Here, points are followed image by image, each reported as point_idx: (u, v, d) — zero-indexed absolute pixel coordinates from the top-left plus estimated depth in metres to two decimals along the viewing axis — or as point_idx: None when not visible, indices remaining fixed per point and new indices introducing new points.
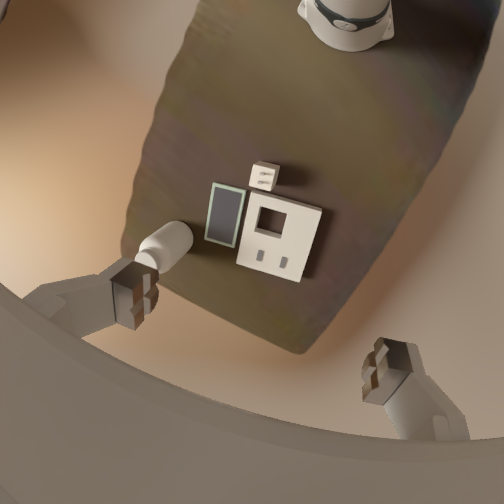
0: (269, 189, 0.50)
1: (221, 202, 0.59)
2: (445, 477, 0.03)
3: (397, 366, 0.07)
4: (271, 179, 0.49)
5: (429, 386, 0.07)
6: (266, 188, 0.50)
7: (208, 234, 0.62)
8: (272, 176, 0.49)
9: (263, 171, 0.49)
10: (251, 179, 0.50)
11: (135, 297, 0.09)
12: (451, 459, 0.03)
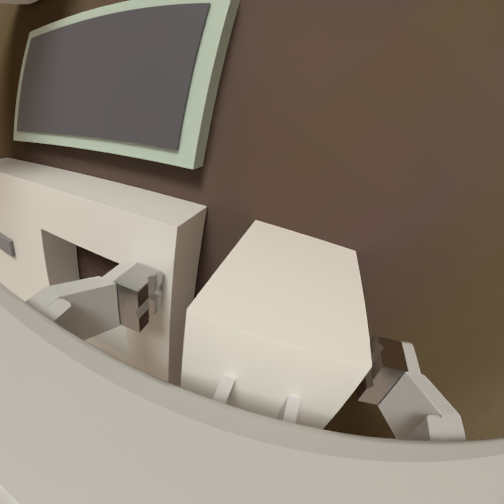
0: None
1: (129, 50, 0.08)
2: (445, 477, 0.03)
3: (392, 365, 0.07)
4: None
5: (425, 385, 0.07)
6: None
7: (36, 40, 0.09)
8: None
9: (303, 409, 0.06)
10: (241, 337, 0.06)
11: (140, 299, 0.09)
12: (451, 459, 0.03)
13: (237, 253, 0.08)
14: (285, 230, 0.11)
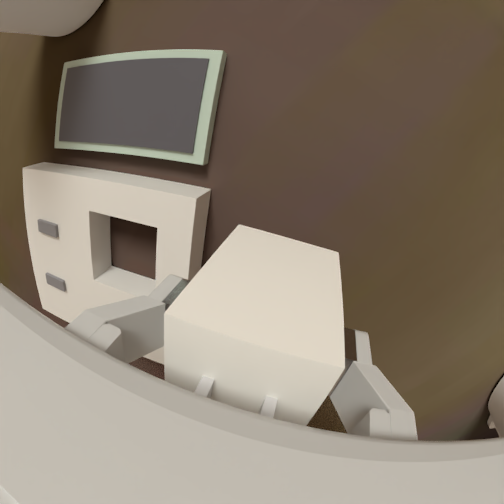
0: None
1: (156, 88, 0.14)
2: (445, 477, 0.03)
3: None
4: None
5: (374, 376, 0.07)
6: None
7: (73, 70, 0.14)
8: None
9: (281, 409, 0.06)
10: (215, 340, 0.06)
11: None
12: (451, 459, 0.03)
13: (217, 258, 0.09)
14: (268, 234, 0.11)
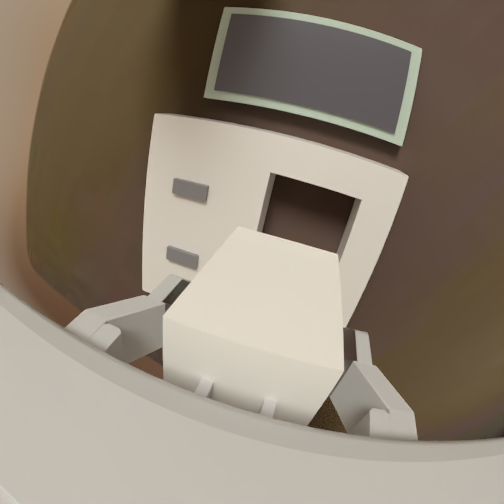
0: None
1: (360, 62, 0.13)
2: (445, 477, 0.03)
3: None
4: None
5: (374, 376, 0.07)
6: None
7: (242, 17, 0.14)
8: None
9: (280, 412, 0.06)
10: (214, 342, 0.06)
11: None
12: (451, 459, 0.03)
13: (216, 260, 0.08)
14: (267, 236, 0.11)
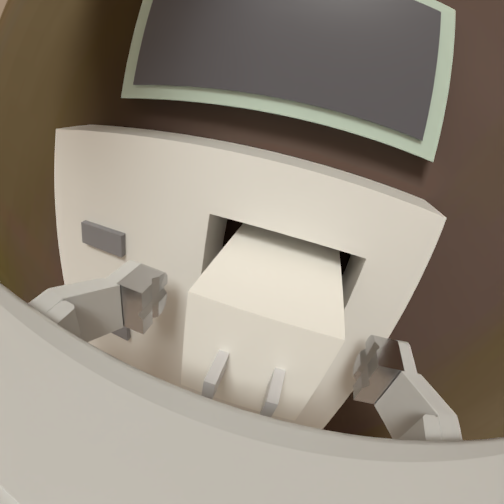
0: (188, 383, 0.09)
1: (362, 22, 0.07)
2: (445, 477, 0.03)
3: (388, 364, 0.07)
4: (242, 401, 0.08)
5: (421, 384, 0.07)
6: (190, 374, 0.08)
7: None
8: (259, 407, 0.08)
9: (288, 381, 0.07)
10: (233, 314, 0.07)
11: (144, 301, 0.08)
12: (451, 459, 0.03)
13: (231, 246, 0.10)
14: None
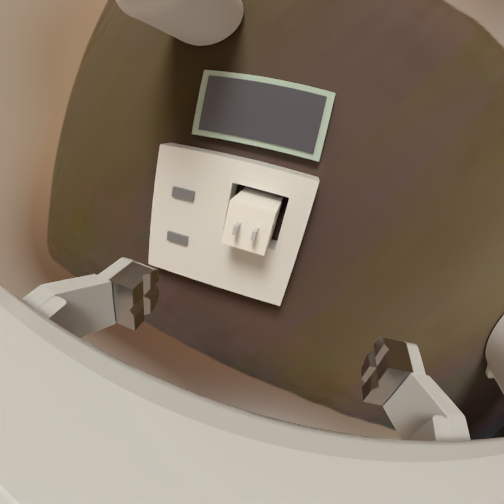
0: (224, 241, 0.26)
1: (291, 108, 0.24)
2: (445, 477, 0.03)
3: (397, 366, 0.07)
4: (244, 247, 0.25)
5: (429, 386, 0.07)
6: (225, 236, 0.25)
7: (215, 78, 0.24)
8: (250, 249, 0.25)
9: (260, 233, 0.24)
10: (242, 207, 0.24)
11: (135, 297, 0.09)
12: (451, 459, 0.03)
13: (240, 193, 0.26)
14: (256, 190, 0.29)
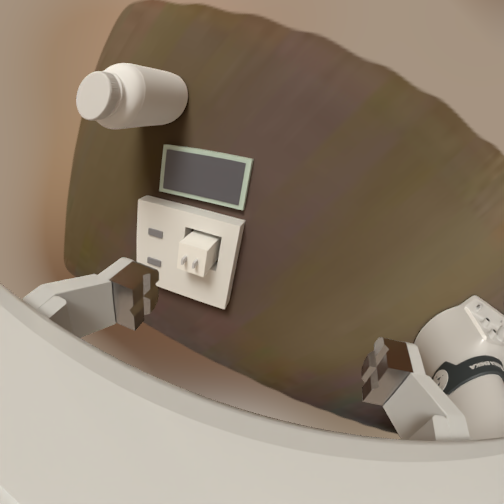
0: (178, 267, 0.39)
1: (221, 173, 0.37)
2: (445, 477, 0.03)
3: (397, 366, 0.07)
4: (190, 271, 0.38)
5: (429, 385, 0.07)
6: (179, 264, 0.38)
7: (171, 152, 0.37)
8: (194, 272, 0.38)
9: (199, 262, 0.37)
10: (187, 246, 0.37)
11: (135, 297, 0.09)
12: (451, 459, 0.03)
13: (190, 234, 0.39)
14: None
